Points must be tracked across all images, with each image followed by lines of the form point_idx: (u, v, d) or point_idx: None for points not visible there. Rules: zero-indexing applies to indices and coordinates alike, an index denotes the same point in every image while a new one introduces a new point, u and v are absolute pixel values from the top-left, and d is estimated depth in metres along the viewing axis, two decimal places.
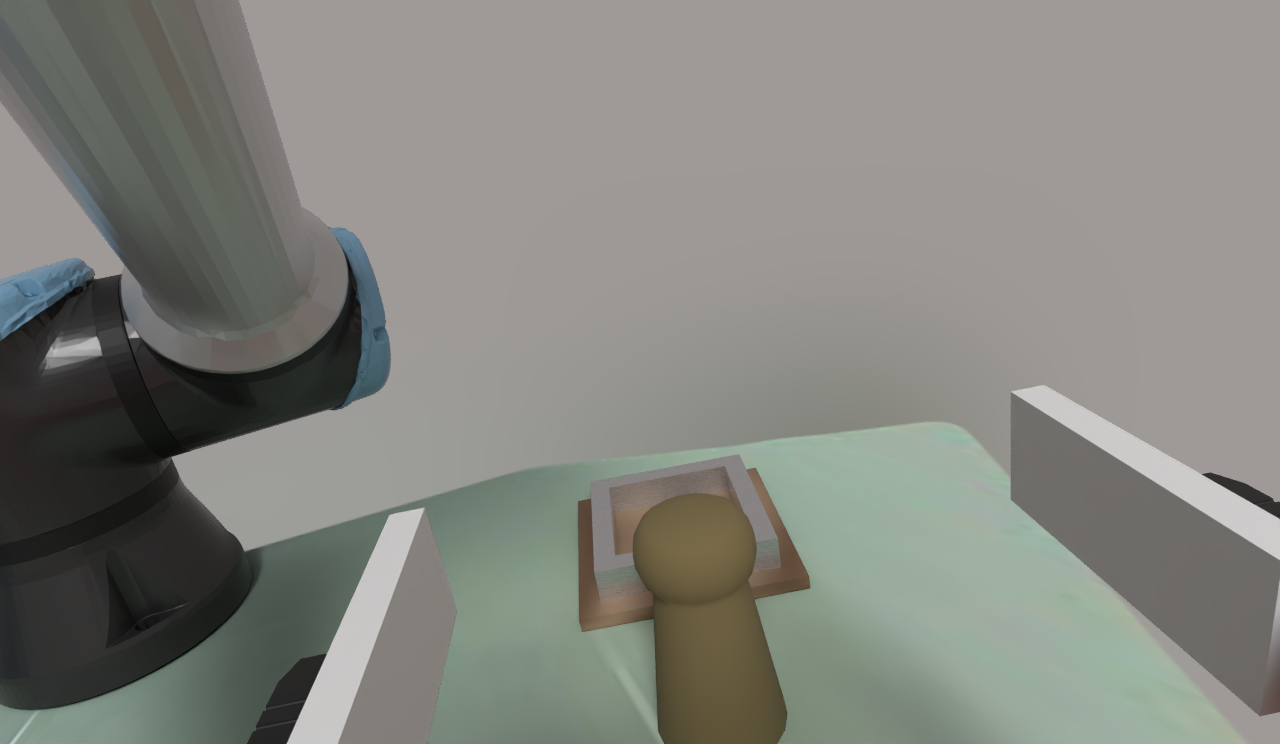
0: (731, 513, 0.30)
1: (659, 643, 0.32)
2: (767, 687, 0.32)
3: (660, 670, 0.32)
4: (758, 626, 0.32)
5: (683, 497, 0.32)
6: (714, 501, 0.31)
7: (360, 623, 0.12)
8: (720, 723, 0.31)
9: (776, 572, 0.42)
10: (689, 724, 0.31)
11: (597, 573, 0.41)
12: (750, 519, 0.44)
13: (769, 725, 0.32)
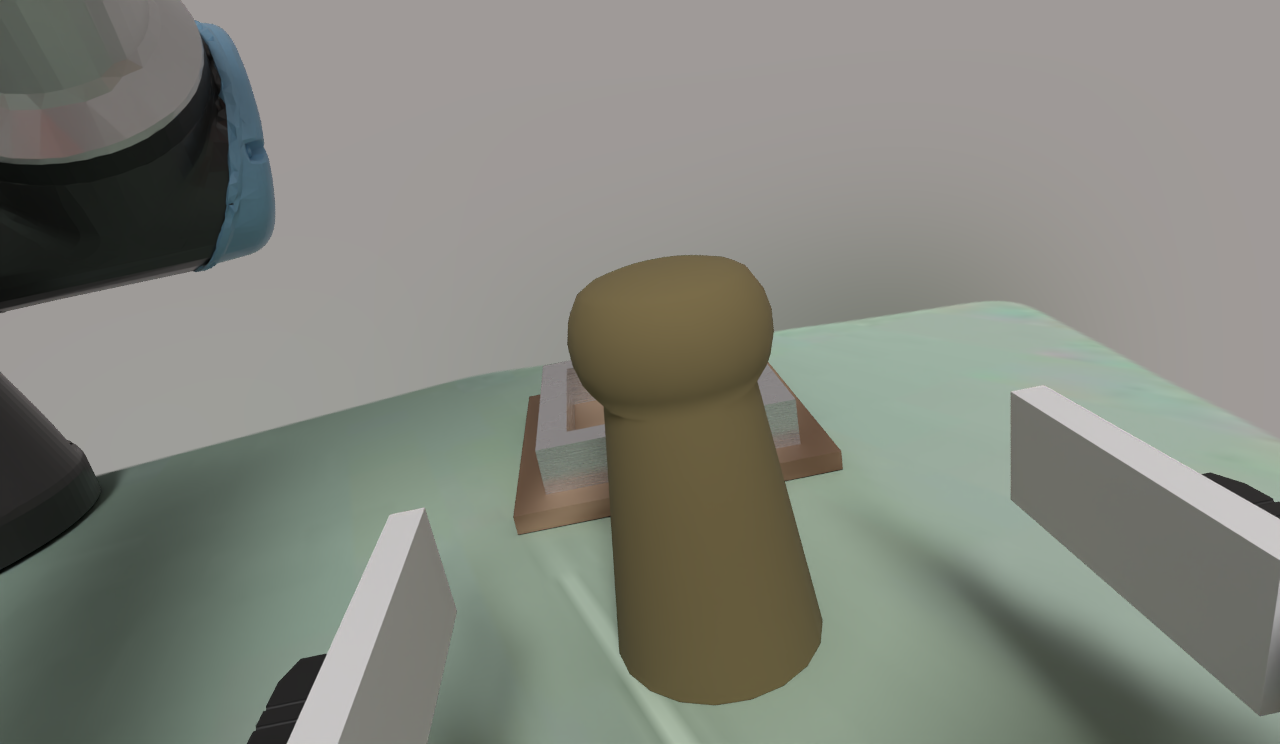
0: (730, 263, 0.18)
1: (615, 497, 0.19)
2: (793, 569, 0.20)
3: (618, 545, 0.20)
4: (777, 467, 0.19)
5: None
6: (702, 256, 0.19)
7: (360, 623, 0.12)
8: (717, 622, 0.19)
9: (794, 449, 0.30)
10: (666, 627, 0.19)
11: (539, 452, 0.29)
12: None
13: (796, 631, 0.20)
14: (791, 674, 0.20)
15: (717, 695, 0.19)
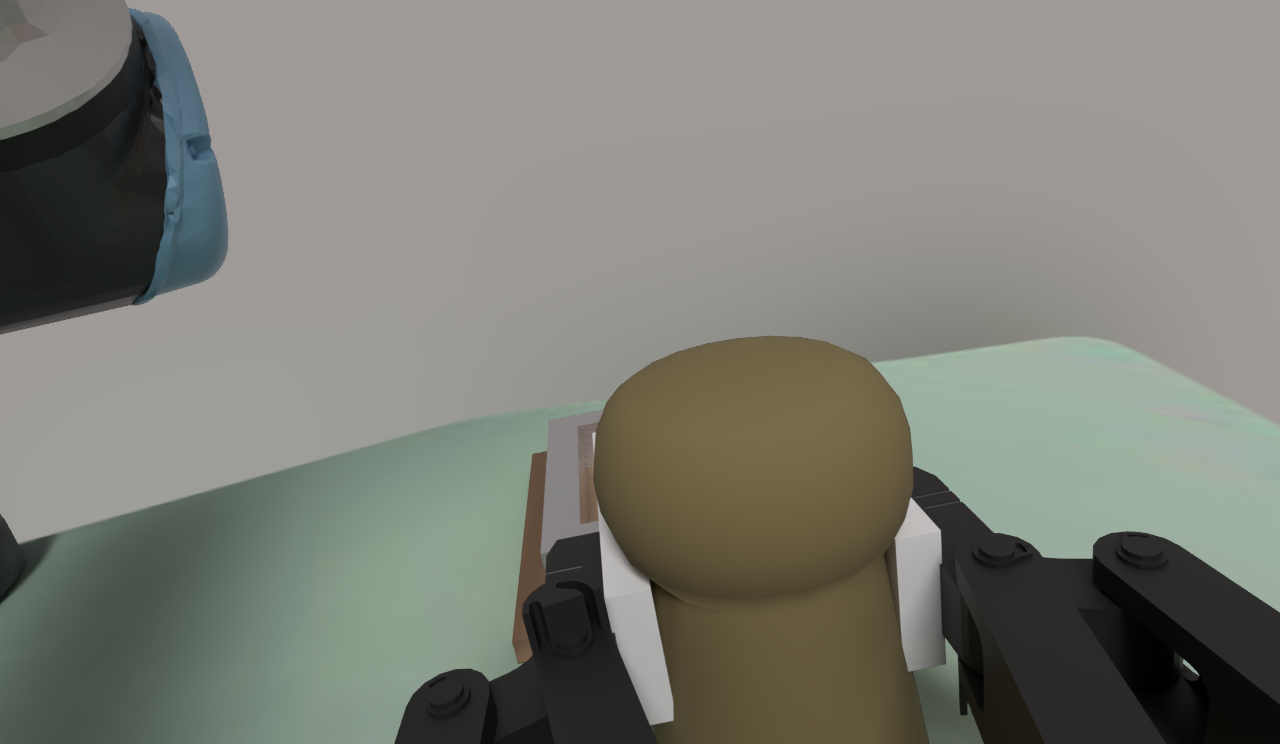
0: (848, 360, 0.12)
1: None
2: None
3: None
4: None
5: (718, 342, 0.13)
6: (798, 342, 0.12)
7: None
8: None
9: None
10: None
11: (546, 555, 0.23)
12: None
13: None
14: None
15: None
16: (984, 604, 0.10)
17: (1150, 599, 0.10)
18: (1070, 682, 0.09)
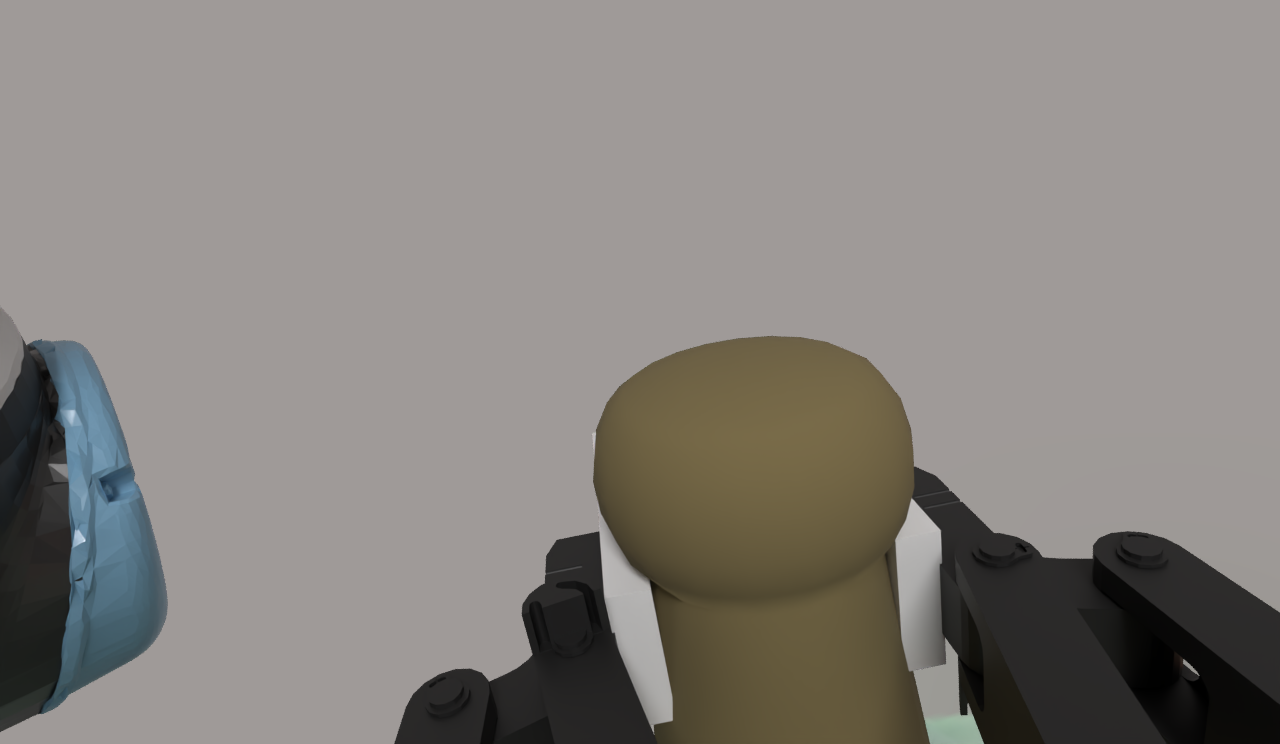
0: (849, 360, 0.12)
1: None
2: None
3: None
4: None
5: (718, 342, 0.13)
6: (798, 342, 0.12)
7: None
8: None
9: None
10: None
11: None
12: None
13: None
14: None
15: None
16: (984, 604, 0.10)
17: (1150, 599, 0.10)
18: (1070, 682, 0.09)
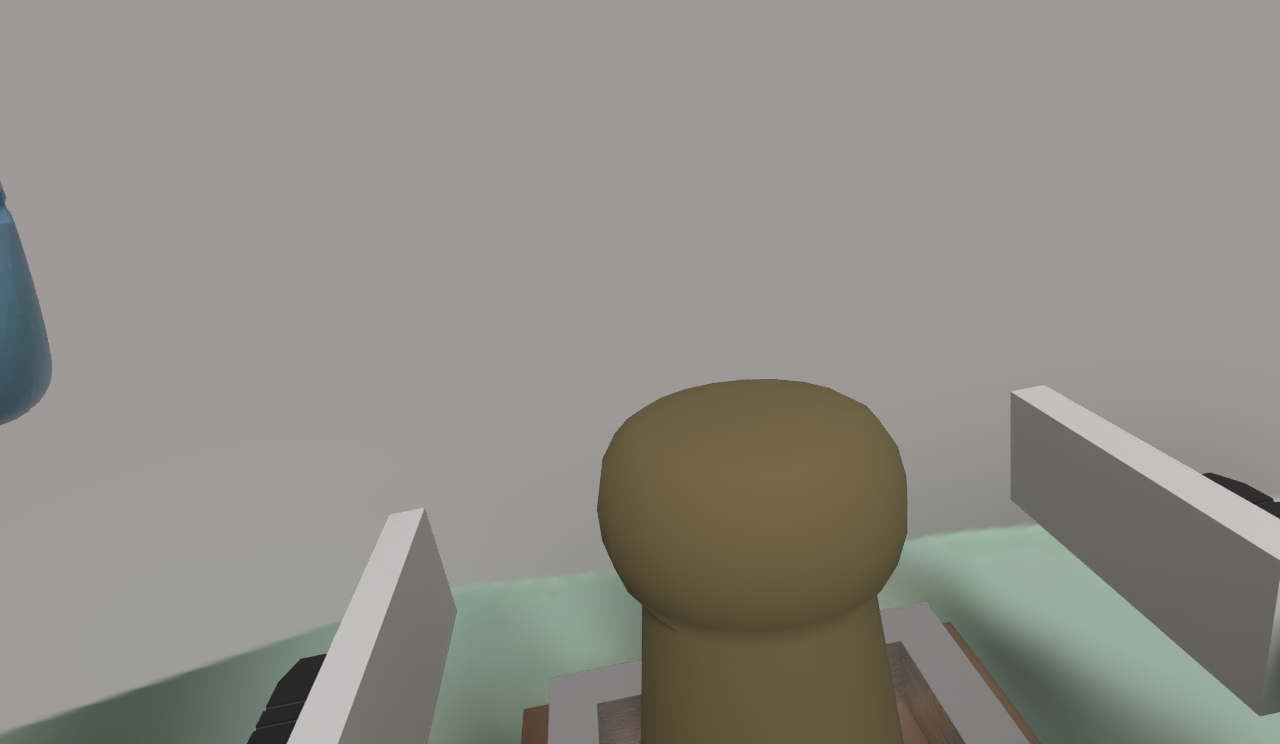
0: (849, 407, 0.12)
1: (652, 731, 0.13)
2: None
3: None
4: (893, 701, 0.13)
5: (724, 382, 0.14)
6: (802, 386, 0.13)
7: (360, 623, 0.12)
8: None
9: None
10: None
11: None
12: None
13: None
14: None
15: None
16: None
17: None
18: None
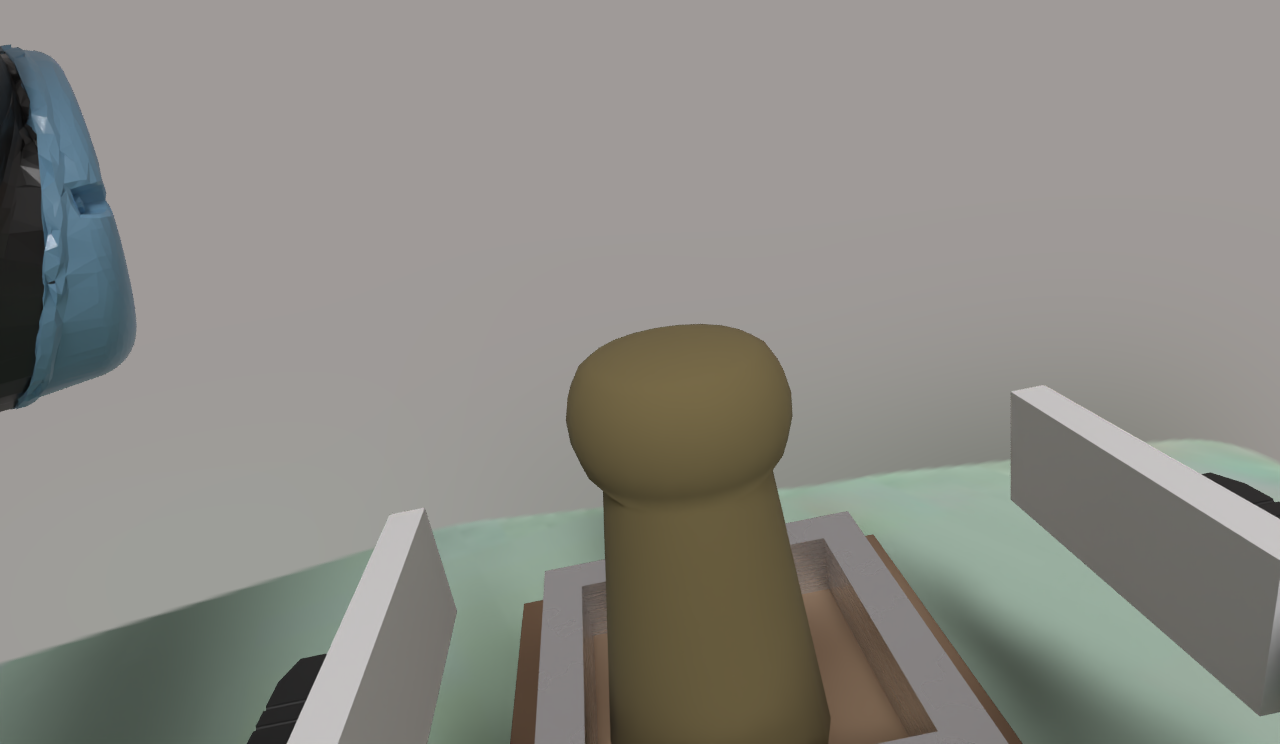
0: (748, 341, 0.16)
1: (612, 584, 0.18)
2: (801, 670, 0.18)
3: (613, 633, 0.18)
4: (789, 559, 0.18)
5: (663, 327, 0.18)
6: (717, 328, 0.17)
7: (360, 623, 0.12)
8: (716, 730, 0.17)
9: None
10: (661, 729, 0.18)
11: None
12: (925, 694, 0.18)
13: (803, 737, 0.18)
14: None
15: None
16: None
17: None
18: None
